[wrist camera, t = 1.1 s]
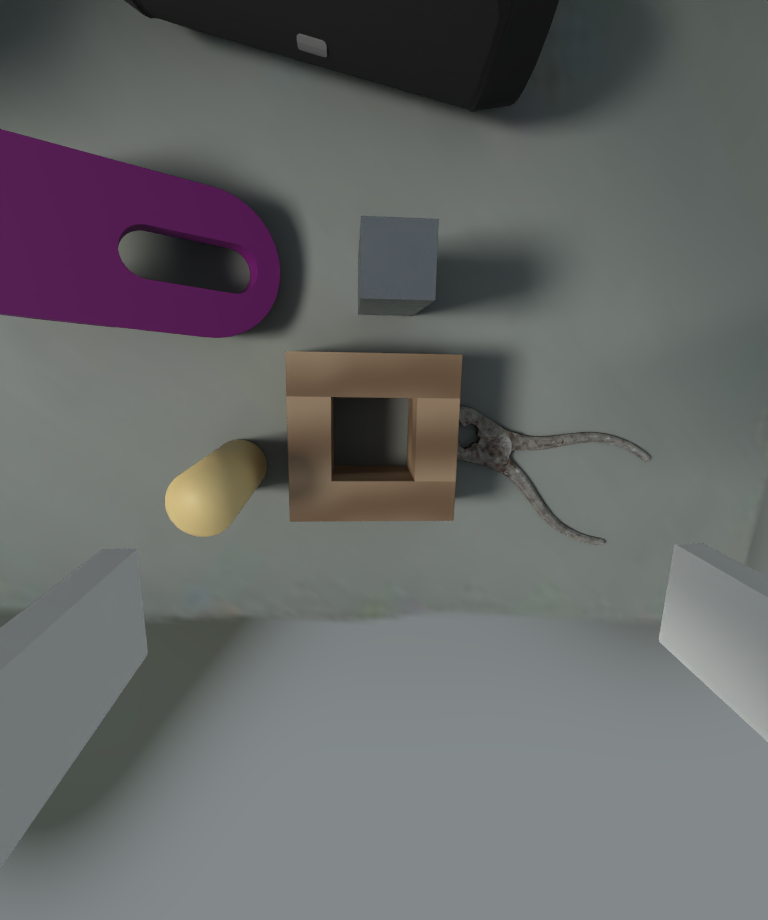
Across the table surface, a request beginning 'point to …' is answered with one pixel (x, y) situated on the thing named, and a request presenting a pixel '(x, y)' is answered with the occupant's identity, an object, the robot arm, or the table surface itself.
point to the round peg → (215, 488)
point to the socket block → (372, 486)
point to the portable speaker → (389, 39)
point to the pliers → (501, 442)
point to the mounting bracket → (98, 235)
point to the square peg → (396, 265)
